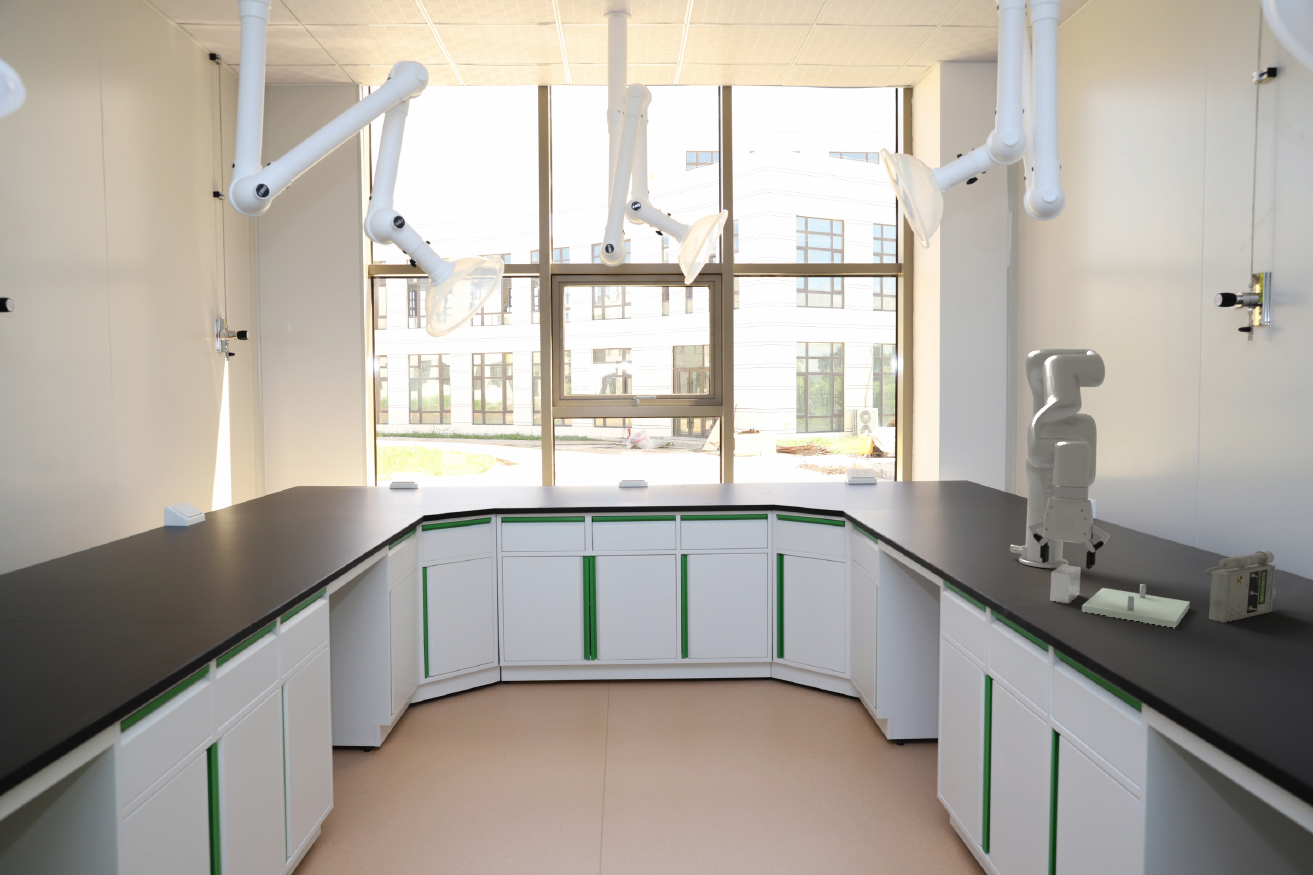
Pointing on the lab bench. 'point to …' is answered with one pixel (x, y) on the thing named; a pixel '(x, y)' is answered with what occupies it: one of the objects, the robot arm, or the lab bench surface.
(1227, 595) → the geiger counter
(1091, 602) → the pin plate
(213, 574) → the lab bench surface
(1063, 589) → the block
